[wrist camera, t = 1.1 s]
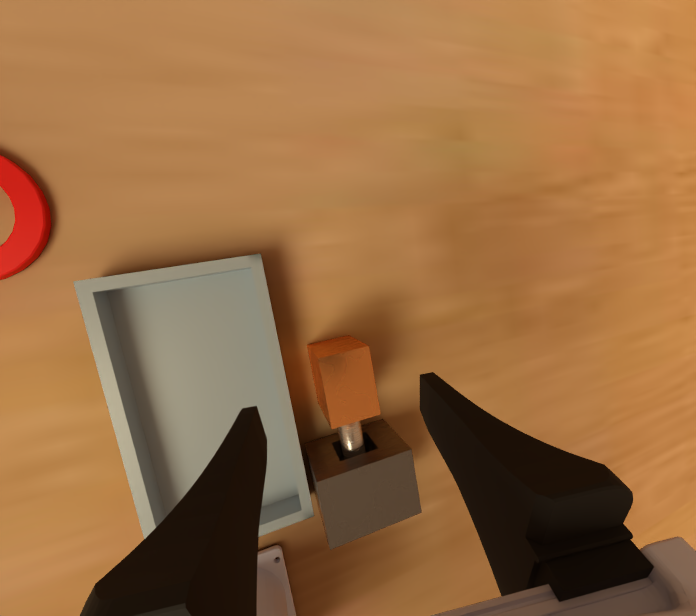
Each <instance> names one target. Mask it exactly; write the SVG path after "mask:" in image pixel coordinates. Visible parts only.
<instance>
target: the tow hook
mask: <svg viewBox="0 0 696 616" xmlns="http://www.w3.org/2000/svg"><path fill="white" fill-rule="evenodd" d="M0 186H1V187H2V188H3V190H4V191H5V192H6V193H7V195H8V196H9V197H10V200H11V202H12V204H13V207H14V211H15V224H14V228H13V232H12V233H11V235H10V236H9V238H8V239H7V241H6V242H5V243H4V244H3V245H1V246H0V280H2V279H6V278H8V277H10V276H12V275H14V274H16V273H18V272H20V271H22V270H24V269H25V268H26V267H28V266H29V265H30V264H31V263H32V262H33V261H35V260H36V259H37V258H38V257H39V255H40V253H41V252H42V250H43V249H44V247H45V246H46V244H47V242H48V238H49V234H50V230H51V218H50V209H49V206H48V204H47V201H46V199H45V196H44V194H43V192H42V190H41V189H40V188H39V186H38V185H37V184H36V183H35V181H34V180H33V179H32V177H31V176H30V175H29V174H27V173H26V172H25V171H24V170H23V169H21V168H20V167H19V166H18V165H16V164H15V163H14V162H12V161H11V160H9V159H7V158H5V157H3V156H1V155H0Z"/></svg>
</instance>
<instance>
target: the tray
mask: <svg viewBox="0 0 696 616" xmlns="http://www.w3.org/2000/svg"><path fill="white" fill-rule="evenodd" d="M74 286H75V290H76V293H77V297H78V300H79V304H80V308H81V311H82V315H83V319H84V322H85V326H86V329H87V333H88V337H89V340H90V344H91V348H92V351H93V355H94V358H95V362H96V366H97V369H98V373H99V376H100V380H101V384H102V387H103V391H104V395H105V398H106V402H107V405H108V409H109V413H110V416H111V420H112V424H113V427H114V431H115V434H116V438H117V442H118V445H119V449H120V453H121V456H122V460H123V463H124V467H125V471H126V474H127V478H128V482H129V485H130V489H131V492H132V496H133V500H134V503H135V507H136V510H137V514H138V518H139V521H140V525H141V529H142V532H143V536H144V539H145V538H146V537H147V536H148V535H149V534H150V533H151V532H152V531H153V530H154V529H155V528H156V527H157V526H158V525H159V524H160V523H161V522H162V521H163V520H164V519H165V517H166V516H167V515H168V514H169V513H170V512H171V511H172V510H173V509H174V507H175V506H176V505H177V504H178V503H179V502H180V500H181V499H182V498H183V497H184V496H185V494H186V493H187V492H188V491H189V489H190V488H191V487H192V486H193V484H194V483H195V482H196V480H197V479H198V478H199V476H200V475H201V474H202V472H203V471H204V469H205V468H206V466H207V465H208V463H209V462H210V460H211V459H212V458H213V456H214V455H215V453H216V451H217V450H218V448H219V447H220V445H221V443H222V442H223V440H224V439H225V437H226V435H227V434H228V432H229V430H230V428H231V427H232V425H233V423H234V421H235V420H236V418H237V416H238V414H239V412H240V411H241V409H242V408H247V407H252V406H257V408H258V411H259V415H260V418H261V421H262V424H263V428H264V431H265V434H266V437H267V468H266V476H265V484H264V491H263V499H262V507H261V514H260V523H259V536H258V537H260V536H262V535H265V534H268V533H270V532H273V531H276V530H278V529H281V528H284V527H286V526H289V525H292V524H294V523H297V522H300V521H302V520H305V519H308V518H310V517H313V516H314V512H313V508H312V503H311V498H310V493H309V488H308V483H307V478H306V473H305V468H304V464H303V459H302V454H301V449H300V444H299V439H298V434H297V429H296V424H295V420H294V415H293V410H292V405H291V400H290V395H289V390H288V385H287V380H286V375H285V371H284V366H283V361H282V356H281V351H280V346H279V341H278V336H277V331H276V327H275V322H274V317H273V312H272V307H271V302H270V297H269V292H268V287H267V283H266V278H265V273H264V268H263V263H262V258H261V254H254V255H248V256H241V257H234V258H228V259H221V260H214V261H207V262H201V263H194V264H187V265H181V266H174V267H167V268H161V269H154V270H147V271H141V272H134V273H127V274H121V275H114V276H107V277H100V278H94V279H87V280H80V281H74Z"/></svg>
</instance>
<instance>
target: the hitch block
mask: <svg viewBox="0 0 696 616" xmlns="http://www.w3.org/2000/svg"><path fill="white" fill-rule="evenodd" d="M361 428H362V434H363V440H364V445H365V451H366V453H364V454H361V455H358V456H355V457H352V458H349V459H346V460H344V457H343V452H342V447H341V441H340V436H339V433H336V434H333V435H330V436H327V437H323V438H320V439H317V440H314V441H311V442H307V443H305V446H306V451H307V456H308V461H309V466H310V471H311V476H312V481H313V486H314V491H315V495H316V500H317V504H318V507H319V511H320V515H321V518H322V522H323V526H324V530H325V533H326V537H327V541H328V544H329V548H330V550H331V549H334V548H336V547H338V546H341V545H343V544H346V543H348V542H351V541H353V540H356V539H358V538H360V537H363V536H365V535H368V534H370V533H373V532H375V531H378V530H380V529H382V528H385V527H387V526H390V525H392V524H395V523H397V522H399V521H402V520H404V519H407V518H409V517H412V516H414V515H417V514H419V513H421V506H420V500H419V493H418V487H417V481H416V475H415V469H414V462H413V456H412V450H411V448H410V447H409V446H408V445H407V444H406V443H405V442H404V441H403V440H402V439H401V438H400V437H399V436H398V435H397V434H396V432H395V431H394V430H393V429H392V428H391V427H390V426H389V425H388V424H387V423H386V422H385V421H384V420H383V419H381V420H378V421H375V422H371V423H368V424H365V425H362V426H361Z"/></svg>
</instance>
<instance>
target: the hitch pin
mask: <svg viewBox="0 0 696 616" xmlns="http://www.w3.org/2000/svg"><path fill="white" fill-rule="evenodd" d="M307 348H308V353H309V358H310V363H311V369H312V374H313V379H314V384H315V389H316V394H317V400H318V404H319V406H320V408H321V410H322V411H323V413H324V415H325V417H326V419H327V421H328V423H329V425H330V427H331V429H334V428H338V431H339V436H340V441H341V447H342V452H343V457H344V460H346V459H349V458H352V457H355V456H358V455H361V454H364V453H366V451H365V445H364V440H363V434H362V428H361V423H360V420H364V419H367V418H370V417H373V416H376V415H380V414H381V413H380V407H379V402H378V396H377V390H376V384H375V378H374V372H373V366H372V361H371V355H370V349H369V346H368V345H366V344H364V343H363V342H361V341H359V340H357V339H355V338H353V337H351V336H349V335H348V336H343V337H339V338H335V339H331V340H326V341H322V342H318V343H313V344H309V345H307Z"/></svg>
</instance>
